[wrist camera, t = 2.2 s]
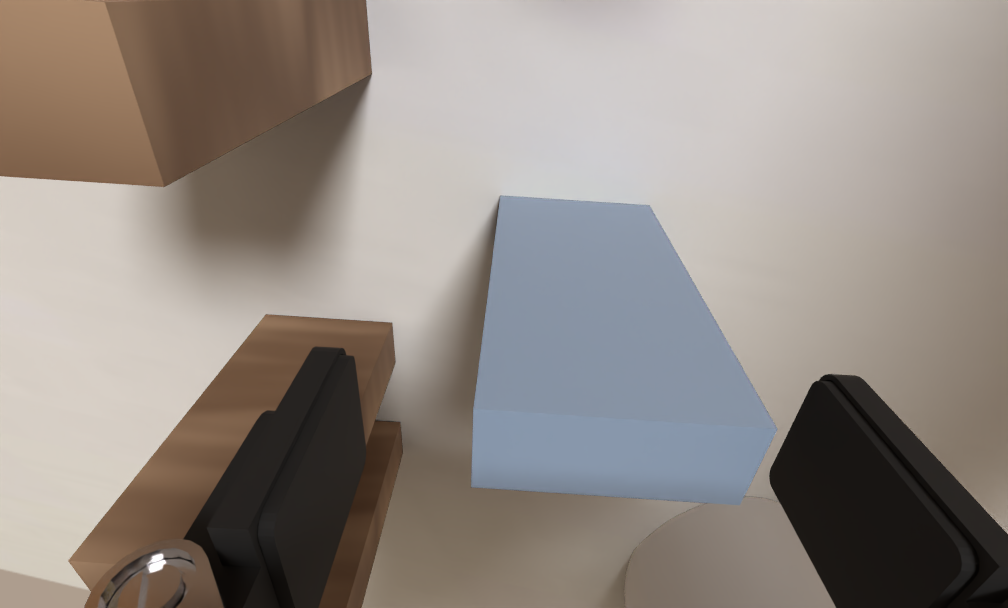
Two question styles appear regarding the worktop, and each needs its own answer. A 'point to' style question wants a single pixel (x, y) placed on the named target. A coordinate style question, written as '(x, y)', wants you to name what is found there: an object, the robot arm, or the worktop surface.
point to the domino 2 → (229, 430)
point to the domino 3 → (365, 519)
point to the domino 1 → (163, 80)
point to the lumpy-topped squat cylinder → (725, 561)
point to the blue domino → (607, 364)
